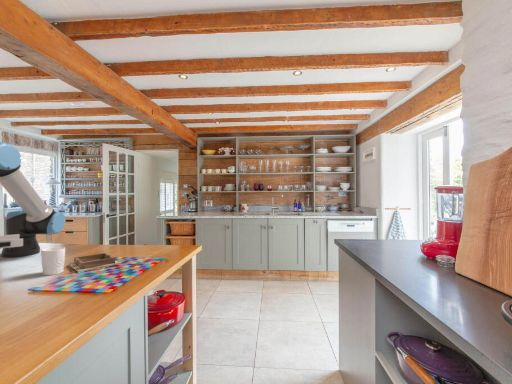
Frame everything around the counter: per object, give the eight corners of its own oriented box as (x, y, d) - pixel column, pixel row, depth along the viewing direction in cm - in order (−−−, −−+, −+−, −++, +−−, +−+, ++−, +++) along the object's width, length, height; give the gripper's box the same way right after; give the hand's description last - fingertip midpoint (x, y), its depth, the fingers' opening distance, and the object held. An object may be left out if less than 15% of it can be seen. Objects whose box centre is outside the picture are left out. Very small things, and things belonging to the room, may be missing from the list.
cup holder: (69, 265, 117) (69, 257, 117) (108, 258, 129) (108, 251, 129) (78, 273, 106) (78, 264, 106) (119, 265, 118) (119, 257, 118)
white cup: (37, 274, 105) (37, 249, 105) (59, 268, 112) (59, 245, 112) (46, 277, 101) (47, 251, 101) (69, 271, 108) (69, 248, 108)
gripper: (-63, 253, 92) (17, 244, 107) (-74, 267, 75) (24, 255, 90) (-63, 232, 92) (18, 226, 107) (-73, 241, 75) (24, 233, 90)
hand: (21, 239), depth 99 cm, fingers open, 13 cm apart
